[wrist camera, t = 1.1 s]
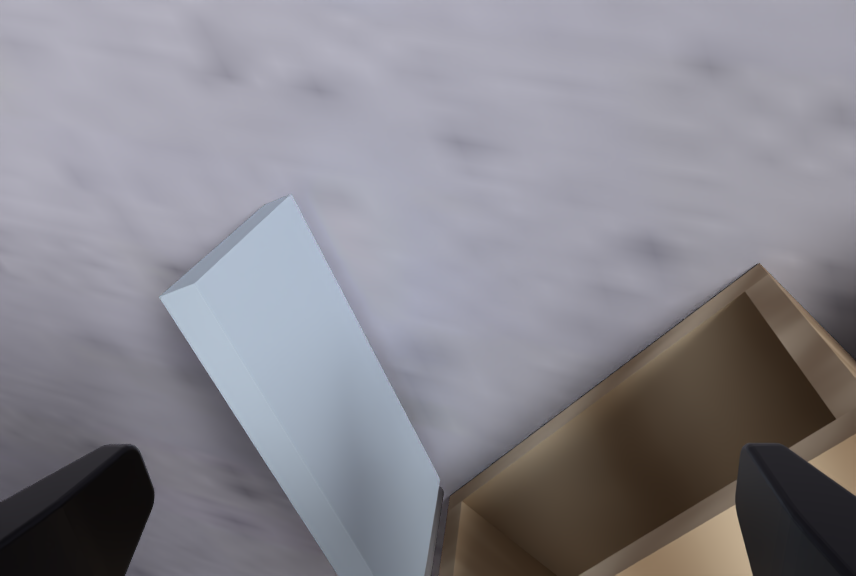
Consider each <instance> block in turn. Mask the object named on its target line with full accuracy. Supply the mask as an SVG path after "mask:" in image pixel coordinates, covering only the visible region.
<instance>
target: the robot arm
mask: <svg viewBox="0 0 856 576" xmlns="http://www.w3.org/2000/svg"><path fill="white" fill-rule="evenodd" d="M153 504H154V488H153V485H152V482H151V479H150V477H149V474H148V471H147V469H146V466H145V463H144V461H143V458H142V455H141V453H140V451H139V449H138V448H137V447H135V446H134V445H131V444H109V445H104V446H102V447H100V448H98V449H96V450H94V451H93V452H91V453H89V454H87V455H85V456H84V457H82V458H80V459H78V460H76V461H74V462H73V463H71V464H69V465H67V466H65V467H64V468H62V469H60V470H58V471H56V472H55V473H53V474H51V475H49V476H47V477H45V478H44V479H42V480H40V481H38V482H36V483H35V484H33V485H31V486H29V487H27V488H26V489H24V490H22V491H20V492H18V493H16V494H15V495H13V496H11V497H9V498H7V499H6V500H4V501H2V502H0V576H125V574H126V572H127V569H128V567H129V564H130V562H131V559H132V557H133V554H134V552H135V550H136V547H137V545H138V542H139V540H140V537H141V535H142V532H143V530H144V527H145V525H146V522H147V520H148V518H149V515H150V513H151V510H152V507H153ZM735 505H736V512H737V517H738V521H739V525H740V529H741V533H742V536H743V540H744V544H745V548H746V552H747V555H748V559H749V563H750V567H751V571H752V574H753V576H856V496H855V495H854V494H852V493H851V492H849V491H848V490H847V489H845V488H844V487H842V486H841V485H840V484H838V483H837V482H835V481H834V480H832V479H831V478H830V477H828V476H827V475H825V474H824V473H823V472H821V471H820V470H818V469H817V468H816V467H814V466H813V465H811V464H810V463H808V462H807V461H806V460H804V459H803V458H801V457H800V456H799V455H797V454H796V453H794V452H793V451H792V450H790V449H789V448H787V447H786V446H784V445H782V444H780V443H747V444H745V445H744V446H743V447H742V449H741V452H740V459H739V467H738V476H737V484H736V492H735Z"/></svg>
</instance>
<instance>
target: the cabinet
mask: <svg viewBox="0 0 856 576" xmlns="http://www.w3.org/2000/svg"><path fill="white" fill-rule="evenodd" d="M747 443H780V444H782V445H784V446H786V447H787V448H789V449H790V450H792V451H793V452H794V453H796V454H797V455H799V456H800V457H801V458H803V459H804V460H806V461H807V462H808V463H810V464H811V465H813V466H814V467H816V468H817V469H818V470H820V471H821V472H823V473H824V474H825V475H827V476H828V477H830V478H831V479H832V480H834V481H835V482H837V483H838V484H840V485H841V486H842V487H844V488H845V489H847V490H848V491H849V492H851V493H852V494H854V495H855V496H856V361H855V360H854V359H853V358H852V357H851V355H850V354H849V353H848V352H847V351H846V350H845V349H844V348H843V347H842V346H841V345H840V344H839V343H838V342H837V341H836V340H835V339H834V338H833V337H832V336H831V335H830V334H829V333H828V332H827V331H826V330H825V329H824V328H823V327H822V326H821V325H820V324H819V323H818V322H817V321H816V320H815V319H814V318H813V317H812V316H811V315H810V314H809V313H808V312H807V311H806V310H805V309H804V308H803V307H802V306H801V305H800V304H799V303H798V302H797V301H796V300H795V299H794V298H793V297H792V296H791V295H790V294H789V293H788V292H787V291H786V290H785V289H784V288H783V287H782V286H781V285H780V284H779V283H778V282H777V281H776V280H775V279H774V277H773V276H772V275H771V274H770V273H769V272H768V271H767V270H766V269H765V268H764V267H763V266H762V265H761V264H760V263H759V264H757V265H756V266H755V267H754V268H752V269H751V270H750V271H748V272H747V273H746V274H744V275H743V276H742V277H740V278H739V279H738V280H736V281H735V282H734V283H732V284H731V285H730V286H728V287H727V288H726V289H724V290H723V291H722V292H720V293H719V294H718V295H716V296H715V297H714V298H712V299H711V300H710V301H708V302H707V303H706V304H704V305H703V306H702V307H700V308H699V309H698V310H696V311H695V312H694V313H692V314H691V315H690V316H689V317H687V318H686V319H685V320H683V321H682V322H681V323H679V324H678V325H677V326H675V327H674V328H673V329H671V330H670V331H669V332H667V333H666V334H665V335H663V336H662V337H661V338H659V339H658V340H657V341H655V342H654V343H653V344H651V345H650V346H649V347H647V348H646V349H645V350H643V351H642V352H641V353H639V354H638V355H637V356H635V357H634V358H633V359H631V360H630V361H629V362H627V363H626V364H625V365H623V366H622V367H621V368H620V369H618V370H617V371H616V372H614V373H613V374H612V375H610V376H609V377H608V378H606V379H605V380H604V381H602V382H601V383H600V384H598V385H597V386H596V387H594V388H593V389H592V390H590V391H589V392H588V393H586V394H585V395H584V396H582V397H581V398H580V399H578V400H577V401H576V402H574V403H573V404H572V405H570V406H569V407H568V408H566V409H565V410H564V411H562V412H561V413H560V414H558V415H557V416H556V417H554V418H553V419H552V420H551V421H549V422H548V423H547V424H545V425H544V426H543V427H541V428H540V429H539V430H537V431H536V432H535V433H533V434H532V435H531V436H529V437H528V438H527V439H525V440H524V441H523V442H521V443H520V444H519V445H517V446H516V447H515V448H513V449H512V450H511V451H509V452H508V453H507V454H505V455H504V456H503V457H501V458H500V459H499V460H497V461H496V462H495V463H493V464H492V465H491V466H489V467H488V468H487V469H486V470H484V471H483V472H482V473H480V474H479V475H478V476H476V477H475V478H474V479H472V480H471V481H470V482H468V483H467V484H466V485H464V486H463V487H462V488H460V489H459V490H458V491H456V492H455V493H454V494H452V495H451V496H450V498H449V505H448V512H447V519H446V527H445V534H444V541H443V548H442V555H441V562H440V569H439V576H753V574H752V571H751V567H750V563H749V559H748V555H747V552H746V548H745V544H744V540H743V536H742V533H741V529H740V525H739V521H738V517H737V512H736V505H735V492H736V484H737V476H738V467H739V459H740V452H741V449H742V447H743V446H744V445H745V444H747Z"/></svg>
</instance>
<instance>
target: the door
mask: <svg viewBox="0 0 856 576" xmlns="http://www.w3.org/2000/svg"><path fill="white" fill-rule="evenodd" d="M159 298H160V299H161V301H162V303H163V304H164V306H165V307H166V309H167V310H168V312H169V313H170V315H171V317H172V318H173V320H174V321H175V323H176V324H177V326H178V327H179V329H180V331H181V332H182V334H183V335H184V337H185V338H186V340H187V341H188V343H189V345H190V346H191V348H192V349H193V351H194V352H195V354H196V355H197V357H198V359H199V360H200V362H201V363H202V365H203V366H204V368H205V369H206V371H207V373H208V374H209V376H210V377H211V379H212V380H213V382H214V383H215V385H216V387H217V388H218V390H219V391H220V393H221V394H222V396H223V397H224V399H225V401H226V402H227V404H228V405H229V407H230V408H231V410H232V411H233V413H234V415H235V416H236V418H237V419H238V421H239V422H240V424H241V425H242V427H243V429H244V430H245V432H246V433H247V435H248V436H249V438H250V439H251V441H252V443H253V444H254V446H255V447H256V449H257V450H258V452H259V453H260V455H261V457H262V458H263V460H264V461H265V463H266V464H267V466H268V467H269V469H270V471H271V472H272V474H273V475H274V477H275V478H276V480H277V481H278V483H279V485H280V486H281V488H282V489H283V491H284V492H285V494H286V495H287V497H288V499H289V500H290V502H291V503H292V505H293V506H294V508H295V509H296V511H297V513H298V514H299V516H300V517H301V519H302V520H303V522H304V523H305V525H306V527H307V528H308V530H309V531H310V533H311V534H312V536H313V537H314V539H315V541H316V542H317V544H318V545H319V547H320V548H321V550H322V551H323V553H324V555H325V556H326V558H327V559H328V561H329V562H330V564H331V565H332V567H333V569H334V570H335V572H336V573H337V575H338V576H431V573H432V567H433V560H434V554H435V547H436V540H437V534H438V527H439V521H440V514H441V508H442V501H443V495H444V491H443V489H442V488H441V487H440V486H439V484H440V478H439V476H438V474H437V472H436V470H435V469H434V467H433V465H432V463H431V461H430V459H429V457H428V455H427V453H426V451H425V449H424V447H423V446H422V444H421V442H420V440H419V438H418V436H417V434H416V432H415V430H414V428H413V426H412V424H411V423H410V421H409V419H408V417H407V415H406V413H405V411H404V409H403V407H402V405H401V403H400V401H399V400H398V398H397V396H396V394H395V392H394V390H393V388H392V386H391V384H390V382H389V380H388V378H387V377H386V375H385V373H384V371H383V369H382V367H381V365H380V363H379V361H378V359H377V357H376V355H375V354H374V352H373V350H372V348H371V346H370V344H369V342H368V340H367V338H366V336H365V334H364V332H363V331H362V329H361V327H360V325H359V323H358V321H357V319H356V317H355V315H354V313H353V311H352V309H351V308H350V306H349V304H348V302H347V300H346V298H345V296H344V294H343V292H342V290H341V288H340V287H339V285H338V283H337V281H336V279H335V277H334V275H333V273H332V271H331V269H330V267H329V265H328V264H327V262H326V260H325V258H324V256H323V254H322V252H321V250H320V248H319V246H318V244H317V242H316V241H315V239H314V237H313V235H312V233H311V231H310V229H309V227H308V225H307V223H306V221H305V219H304V218H303V216H302V214H301V212H300V210H299V208H298V206H297V204H296V202H295V200H294V198H293V196H292V195H291V194H290V195H287V196H285V197H282V198H280V199H277V200H275V201H273V202H270V203H268V204H265V205H264V206H262V207H261V208H260V209H259V210H258V211H257V212H256V213H254V214H253V215H252V216H251V217H250V218H249V219H248V220H246V221H245V222H244V223H243V224H242V225H241V226H240V227H238V228H237V229H236V230H235V231H234V232H233V233H232V234H230V235H229V236H228V237H227V238H226V239H225V240H224V241H222V242H221V243H220V244H219V245H218V246H217V247H216V248H214V249H213V250H212V251H211V252H210V253H209V254H208V255H206V256H205V257H204V258H203V259H202V260H201V261H200V262H198V263H197V264H196V265H195V266H194V267H193V268H191V269H190V270H189V271H188V272H187V273H186V274H185V275H183V276H182V277H181V278H180V279H179V280H178V281H177V282H175V283H174V284H173V285H172V286H171V287H170V288H169V289H167V290H166V291H165V292H164V293H163V294H162V295H161V296H159Z"/></svg>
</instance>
